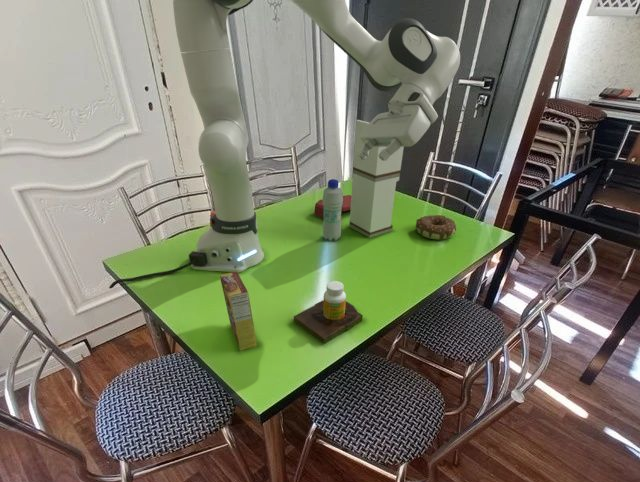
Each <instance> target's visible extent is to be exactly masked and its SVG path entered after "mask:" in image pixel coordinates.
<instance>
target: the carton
mask: <svg viewBox="0 0 640 482" xmlns="http://www.w3.org/2000/svg"><path fill="white" fill-rule="evenodd" d="M314 204H315V205H314V209H313V210H314V211H313V216H315V217H318V218H319V219H320V218H321V219H322V220H324V206H323V200H322V199H319V200H318V201H316V202H315V203H314ZM347 211H351V194H346V195H343V205H342V208H341V213H342V212H347Z"/></svg>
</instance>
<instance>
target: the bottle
mask: <svg viewBox="0 0 640 482" xmlns="http://www.w3.org/2000/svg"><path fill="white" fill-rule="evenodd" d="M339 184H340V183H339V181H338V180H337V179H335V178H331V179H328V181H327V187H326V188H324V189H323V194H322V199H321V200H323V206H324V219H323V223H322V236H323V238H324V240H325V241H329V242H333V241H334V242H336V241H337V240H339V239H340V238H341V237H342V236H341V235H342V212H341V208H342V205H343V196H344V195H343V189H342V188H341V187H339Z"/></svg>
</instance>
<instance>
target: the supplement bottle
mask: <svg viewBox="0 0 640 482" xmlns="http://www.w3.org/2000/svg"><path fill="white" fill-rule="evenodd" d="M344 287H345V286H344V284H343V283H342V282H341V281H338V280H332V281H329V282H327V284H326V290H325V292H323V301H324V302H323V316H324V317H325V318H327V319H330V320H339V319H342V318H344V317H345V304H346V302H347V294H346V292H345V291H344V290H345V289H344Z"/></svg>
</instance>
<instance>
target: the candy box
mask: <svg viewBox="0 0 640 482" xmlns="http://www.w3.org/2000/svg"><path fill="white" fill-rule="evenodd" d="M219 279H220V284H221V288H222V292H223V297H224V301H225V306H226V310H227V315H228V319H229V325H230V328H231V331H232V334H233V336H234V338H235V340H236V343H237V346H238V349H239V351H241V352H243V351H245V350H249V349H252V348H256V347H257V346H258V345H257V338H256V332H255V325H254V320H253V319H254V318H253V313H252V312H253V311H252V307H251V301H250V300H251V299H250V295H249V291H248V289H247V287H246V285H245V284H244V282H243V281H242V278H241V276H240V275H239V272H226V273H224V274H220V275H219Z"/></svg>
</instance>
